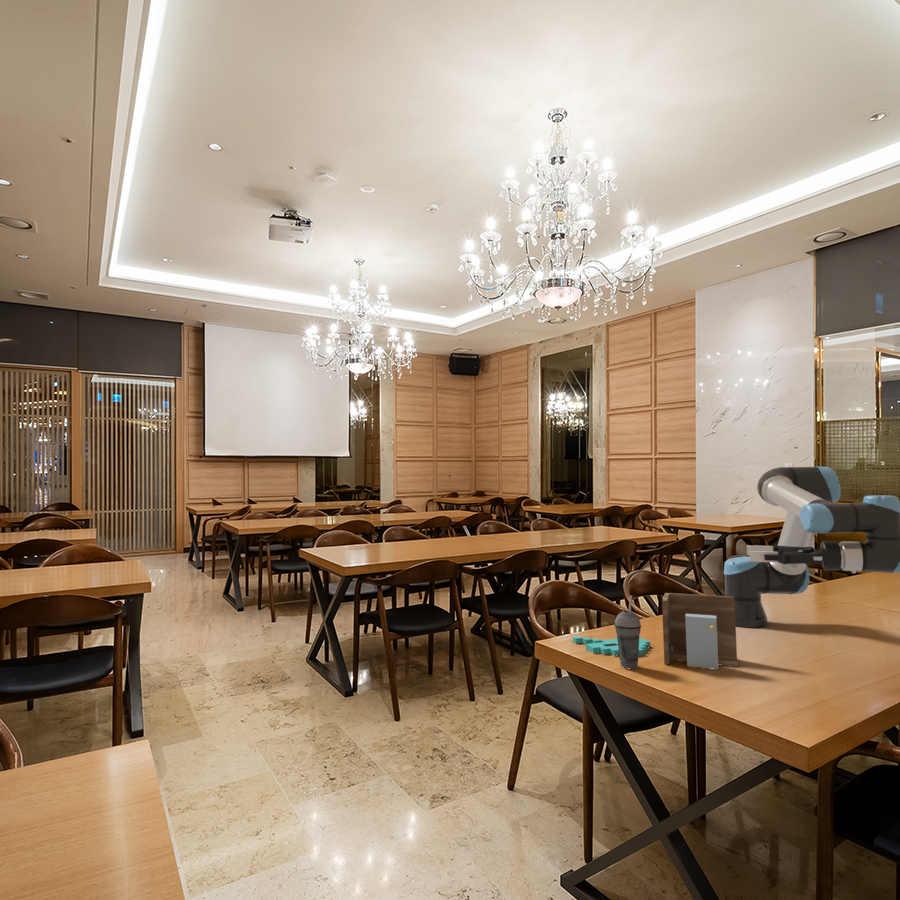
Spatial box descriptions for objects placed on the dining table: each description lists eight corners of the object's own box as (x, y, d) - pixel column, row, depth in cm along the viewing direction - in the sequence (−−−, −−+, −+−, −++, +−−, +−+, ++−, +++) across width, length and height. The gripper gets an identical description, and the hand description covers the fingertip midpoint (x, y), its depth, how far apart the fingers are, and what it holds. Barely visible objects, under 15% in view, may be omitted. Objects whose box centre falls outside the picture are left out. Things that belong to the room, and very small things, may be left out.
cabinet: (667, 652, 178) (665, 592, 179) (736, 659, 170) (734, 596, 171) (664, 664, 167) (662, 600, 168) (738, 672, 159) (735, 605, 160)
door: (687, 663, 168) (685, 613, 169) (718, 666, 165) (716, 615, 165) (687, 667, 163) (685, 617, 164) (718, 671, 160) (716, 619, 161)
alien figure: (572, 643, 191) (604, 661, 172) (572, 636, 191) (604, 654, 172) (626, 638, 197) (663, 655, 177) (626, 631, 197) (663, 647, 177)
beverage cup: (617, 661, 170) (614, 592, 171) (643, 664, 167) (640, 593, 168) (614, 669, 163) (612, 597, 164) (641, 672, 160) (639, 598, 162)
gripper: (850, 578, 141) (751, 573, 149) (831, 563, 164) (746, 560, 172) (849, 546, 141) (750, 544, 150) (830, 536, 164) (745, 535, 173)
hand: (748, 553), depth 161 cm, fingers open, 13 cm apart
